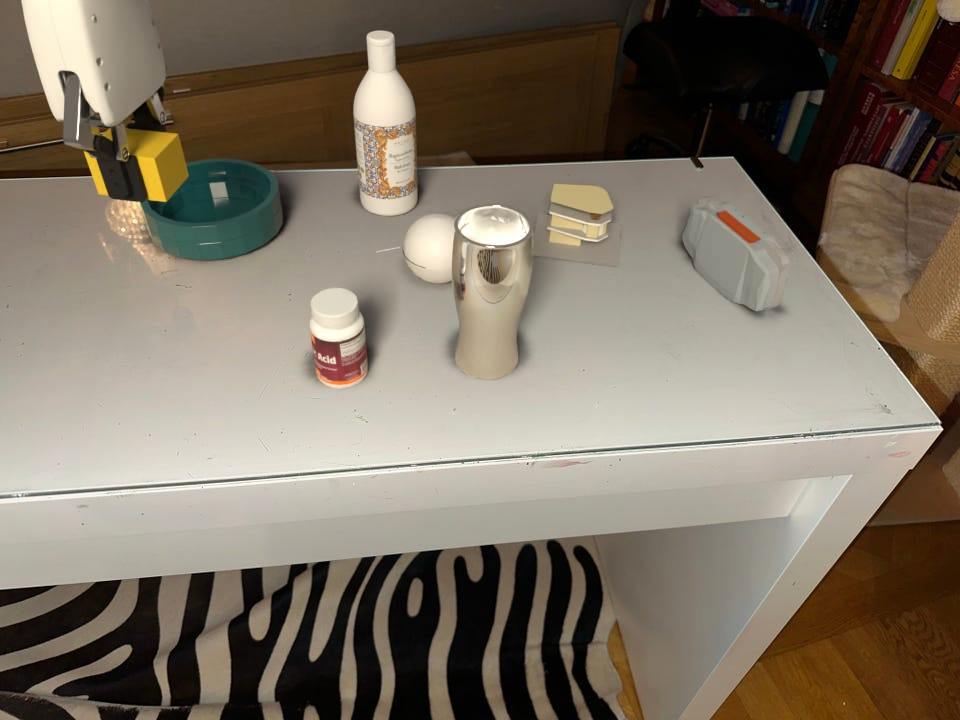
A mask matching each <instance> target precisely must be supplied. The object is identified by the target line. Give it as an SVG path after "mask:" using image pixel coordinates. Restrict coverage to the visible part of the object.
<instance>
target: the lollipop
mask: <svg viewBox="0 0 960 720" xmlns="http://www.w3.org/2000/svg"><path fill="white" fill-rule="evenodd" d="M455 219H456V217H455V216H453V215H450V214H448V213H443V212H433V213H428V214H424V215H422V216H421V217H419V218H418V219H417V220H415V221H414V222H413V223H412V224H411V225H410V226H409V228H408V230H407V231H406V233H405V236H404V239H403V245H402V254H403V256H404V260H405V262H406V266H408V268H409V270H410V271H411V272H412V273H413V274H414V275H415V276H416V277H417V278H420V279H421V280H423V281H425V282H427V283H431V284H447V283H450V282H452V279H451V254H452V243H453V234H454V221H455ZM394 249H400V246H398V247H393V248H392V247H391V248H388V249H387V248H386V249H382V250H377V251H376V253H380V252H385V251H390V250H394Z"/></svg>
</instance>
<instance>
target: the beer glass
mask: <svg viewBox="0 0 960 720" xmlns="http://www.w3.org/2000/svg"><path fill="white" fill-rule="evenodd" d="M455 218H456V219H455V221H454V234H453V243H452V254H451V279H452V281H451V287H452V294H453V299H454V303H455V308H456V313H457V317H458V324H459V326H458V327H459V334H458V339H457V344H456V347H455V351H454V361H455V364H456V366H457V368H458V369H459V370H460V371H461V372H462V373H464V374H465V375H467V376H469V377H471V378H474V379H477V380H483V381H494V380H498V379H501V378H504V377H507V376H508V375H510V374H511V373H513V371H514V370H516V368H517V366H518V363H519V348H518V342H517V331H518V326H519V323H520V319H521V317H522V314H523V309H524V307H525V305H526V304H525V303H526V302H527V301H526V300H527V297H528V293H529V289H530V286H531V280H532V274H533V273H532V272H533V261H534V256H533V236H534V230H535V228H534V223H533V220H532V218H531V217H530V216H529V215H528V214H526V213H525V212H524V211H522V210H521V209H519V208H516V207H513V206H510V205H507V204H501V203H481V204H477V205H472V206H469V207H467V208H465V209H463V210H462V211H461V212H460V213H458V214H457V215H456V217H455Z"/></svg>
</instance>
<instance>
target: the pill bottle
mask: <svg viewBox="0 0 960 720" xmlns="http://www.w3.org/2000/svg"><path fill="white" fill-rule="evenodd" d="M310 313H311V317H310V319H309V325H308V326H309V334H310V340H311V346H312V353H313V361H314V367H315V373H316V376H317V378H318V380H319V381H320V382H321V384H323V385H325V386H326V387H329V388H333V389H348V388H351V387H353V386H356V385H358V384H360V383H362V381H363V380H364V379H365V378H366V377H367V374H368V371H369V364H368V363H369V362H368V351H367V349H368V348H367V338H366V337H367V336H366V326H365V324H366V323H365V317H364V316H363V314H362V312H361V310H360V307H359V300H358V296H357V295H356V294H355V293H354V292H353V291H351V290H350V289H347V288H344V287H329V288H325V289H322V290H320V291H318V292H317V293H315V295H313V297H312V298H311V299H310Z"/></svg>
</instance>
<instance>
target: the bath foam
mask: <svg viewBox="0 0 960 720" xmlns="http://www.w3.org/2000/svg"><path fill="white" fill-rule="evenodd" d="M366 47H367V48H366V51H367V63H368V65H367V66H368V70H367V71H366V73H365V74H364V76H363V77H362V80H361V81H360V83H359V85H358V87H357V90H356V92H355V94H354V100H353V108H352V109H353V111H352V116H353V129H354V140H355V151H356V163H357V164H356V165H357V175H358V187H359V197H360V198H359V199H360V203H361V205H362V207H363V208H364V209H365V210H366V211H367V212H369V213H371V214H373V215H377V216H381V217H396V216H401V215H404V214H406V213H409V212H410V211H412V210H413V209H414V208H415V207H416V205H417V203H418V196H419V195H418V191H419V190H418V151H417V150H418V148H417V147H418V146H417V112H416V105H415V100H414V97H413V94H412V91H411V90H410V87H409V86H408V84H407V83H406V81H405V80H404V78H403V77H402V76H401V74H400V73H399V71H398V69H397V68H396V67H397V64H396V59H397V57H396V37H395V35H394V34H393V32H391V31H388V30H374V31H370V32H368V33H367V35H366Z"/></svg>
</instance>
